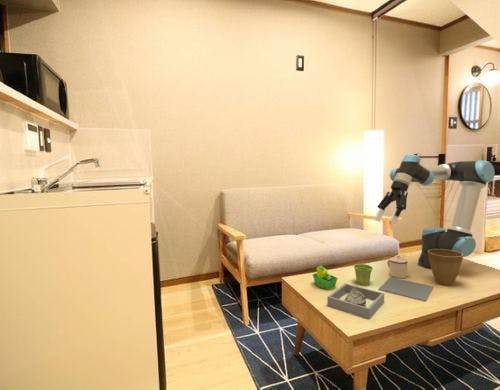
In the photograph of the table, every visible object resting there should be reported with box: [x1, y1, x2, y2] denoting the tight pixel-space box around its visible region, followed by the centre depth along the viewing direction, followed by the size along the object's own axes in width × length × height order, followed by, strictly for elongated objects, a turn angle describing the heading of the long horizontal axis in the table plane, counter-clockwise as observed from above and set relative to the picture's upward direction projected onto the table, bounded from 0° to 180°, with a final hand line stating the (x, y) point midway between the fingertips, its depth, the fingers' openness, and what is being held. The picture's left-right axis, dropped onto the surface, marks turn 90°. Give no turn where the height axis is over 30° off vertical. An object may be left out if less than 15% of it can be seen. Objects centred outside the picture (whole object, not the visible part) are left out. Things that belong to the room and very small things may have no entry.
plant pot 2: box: [428, 249, 464, 286], centre depth 145 cm, size 15×15×16 cm
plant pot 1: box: [353, 263, 374, 286], centre depth 147 cm, size 9×9×9 cm
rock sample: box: [343, 287, 367, 306], centre depth 125 cm, size 10×8×9 cm
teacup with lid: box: [386, 254, 408, 279], centre depth 157 cm, size 12×9×12 cm
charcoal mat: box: [378, 276, 435, 302], centre depth 139 cm, size 20×20×1 cm
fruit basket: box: [312, 265, 338, 291], centre depth 144 cm, size 11×9×11 cm
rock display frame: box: [326, 283, 385, 320], centre depth 125 cm, size 19×18×4 cm
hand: (384, 221), depth 140 cm, fingers open, 13 cm apart
